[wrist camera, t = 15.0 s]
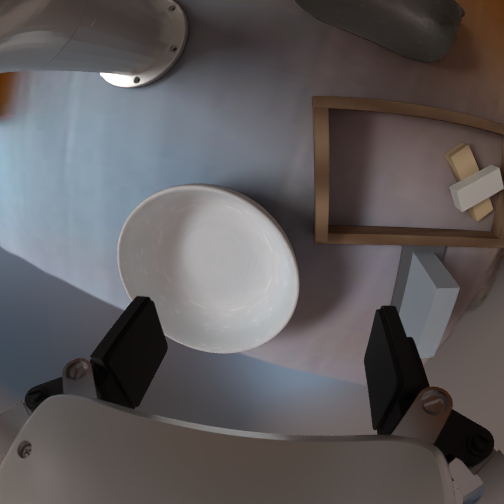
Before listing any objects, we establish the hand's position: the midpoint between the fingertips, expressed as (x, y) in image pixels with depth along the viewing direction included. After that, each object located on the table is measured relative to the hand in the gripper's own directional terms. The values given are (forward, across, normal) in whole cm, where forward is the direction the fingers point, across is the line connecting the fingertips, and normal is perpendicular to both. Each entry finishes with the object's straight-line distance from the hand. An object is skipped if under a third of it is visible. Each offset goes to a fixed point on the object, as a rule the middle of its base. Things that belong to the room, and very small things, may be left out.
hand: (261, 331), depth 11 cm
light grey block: (+22, -17, +12) cm, 30 cm away
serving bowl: (+23, +9, +8) cm, 26 cm away
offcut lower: (+23, -22, -2) cm, 32 cm away
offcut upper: (+21, -22, -2) cm, 30 cm away
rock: (+23, -10, -23) cm, 34 cm away
